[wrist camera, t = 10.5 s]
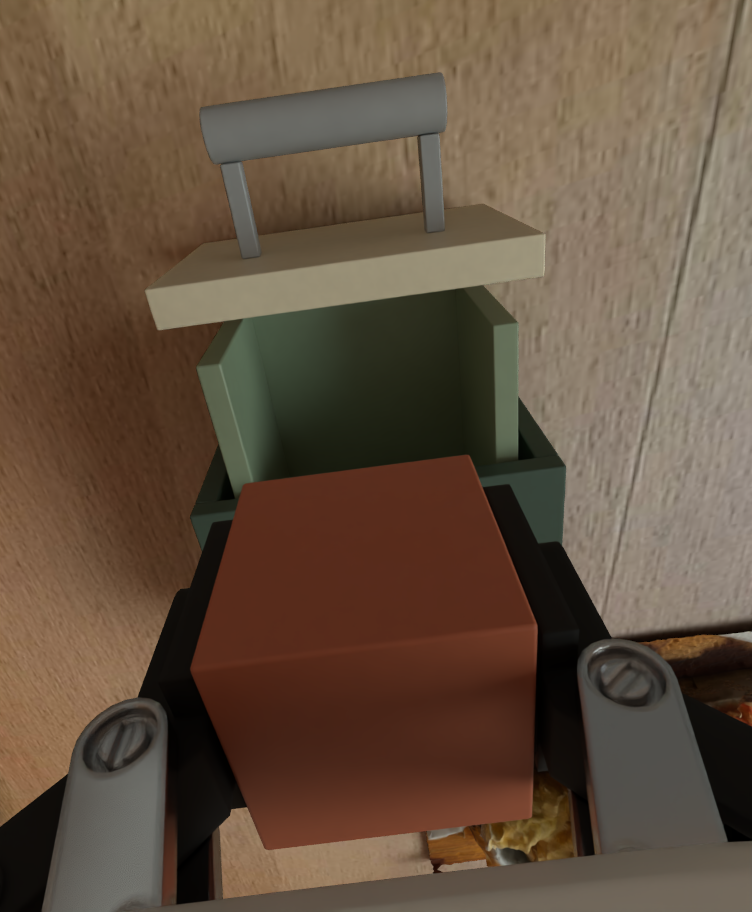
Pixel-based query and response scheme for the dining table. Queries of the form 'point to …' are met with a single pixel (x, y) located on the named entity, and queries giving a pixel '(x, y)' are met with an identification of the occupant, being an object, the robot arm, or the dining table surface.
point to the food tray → (549, 829)
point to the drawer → (352, 303)
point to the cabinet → (529, 477)
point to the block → (371, 656)
